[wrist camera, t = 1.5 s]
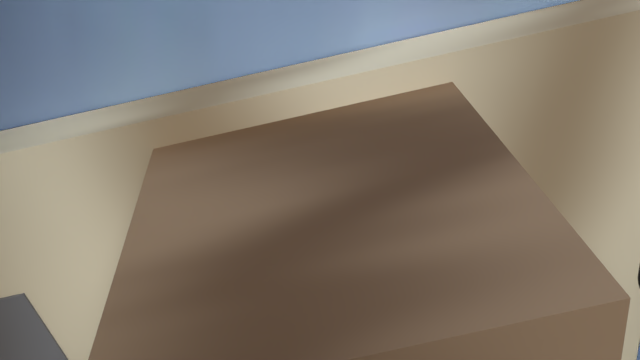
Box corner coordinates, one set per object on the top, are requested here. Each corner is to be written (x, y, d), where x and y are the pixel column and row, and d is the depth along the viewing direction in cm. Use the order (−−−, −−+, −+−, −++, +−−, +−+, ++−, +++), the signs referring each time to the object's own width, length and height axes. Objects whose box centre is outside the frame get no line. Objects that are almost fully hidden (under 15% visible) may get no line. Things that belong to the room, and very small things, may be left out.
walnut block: (452, 81, 9) (629, 297, 5) (467, 299, 12) (589, 562, 7) (152, 148, 9) (69, 421, 5) (235, 350, 12) (228, 639, 8)
